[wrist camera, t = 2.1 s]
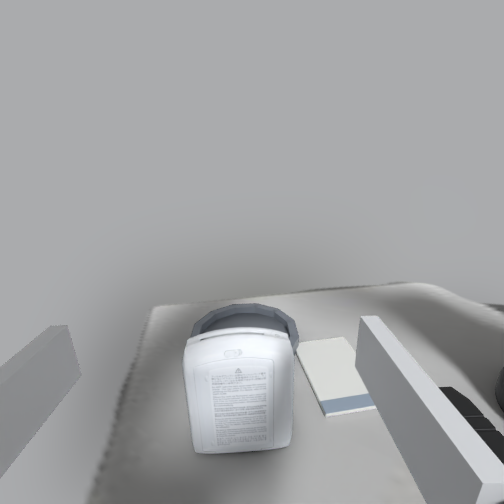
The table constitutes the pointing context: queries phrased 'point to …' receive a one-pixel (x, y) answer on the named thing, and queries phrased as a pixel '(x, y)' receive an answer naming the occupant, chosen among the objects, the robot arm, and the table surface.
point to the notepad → (334, 376)
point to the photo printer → (239, 389)
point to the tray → (248, 320)
